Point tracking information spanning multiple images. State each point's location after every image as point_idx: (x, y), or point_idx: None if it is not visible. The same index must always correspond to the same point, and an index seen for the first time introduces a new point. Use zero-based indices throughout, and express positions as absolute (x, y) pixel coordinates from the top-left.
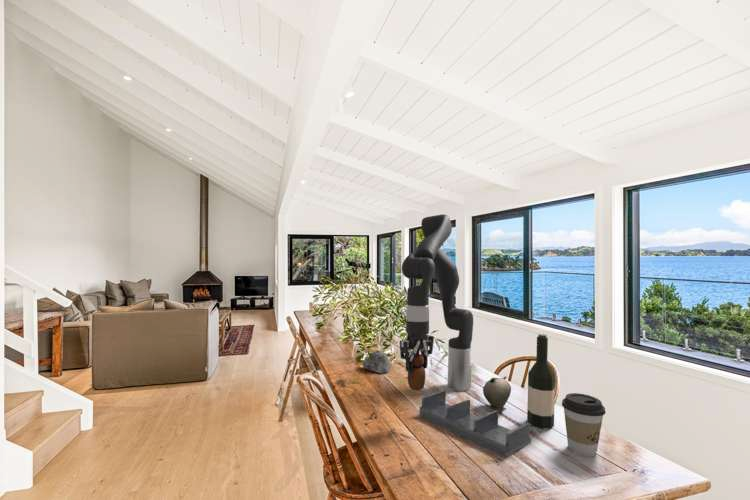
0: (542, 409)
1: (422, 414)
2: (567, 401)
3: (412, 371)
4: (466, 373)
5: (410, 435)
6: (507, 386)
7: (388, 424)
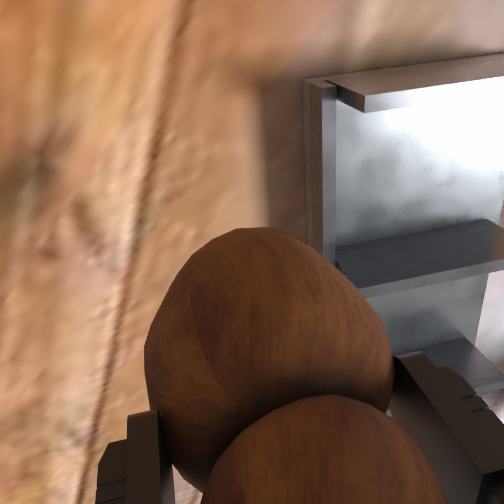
0: None
1: (309, 107)
2: None
3: (170, 471)
4: None
5: (116, 235)
6: None
7: (63, 71)
